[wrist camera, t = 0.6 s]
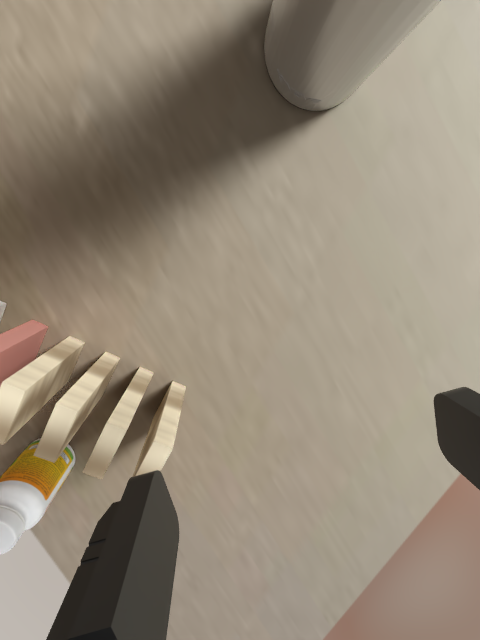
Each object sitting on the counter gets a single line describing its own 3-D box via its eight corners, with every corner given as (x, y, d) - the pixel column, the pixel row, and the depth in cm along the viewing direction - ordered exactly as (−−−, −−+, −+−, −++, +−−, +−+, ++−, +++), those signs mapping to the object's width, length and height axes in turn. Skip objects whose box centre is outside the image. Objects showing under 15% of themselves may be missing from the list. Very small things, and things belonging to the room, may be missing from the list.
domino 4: (140, 366, 32) (106, 422, 22) (153, 372, 32) (126, 430, 23) (121, 403, 33) (82, 472, 23) (135, 409, 33) (101, 479, 24)
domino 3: (105, 351, 31) (56, 402, 22) (120, 357, 32) (78, 411, 22) (88, 390, 32) (33, 455, 23) (102, 396, 33) (54, 462, 23)
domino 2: (70, 335, 30) (2, 381, 21) (85, 342, 31) (25, 390, 21) (52, 376, 32) (-19, 437, 22) (68, 382, 32) (3, 445, 22)
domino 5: (172, 380, 33) (153, 440, 23) (185, 386, 33) (173, 448, 23) (153, 416, 34) (128, 488, 24) (166, 422, 34) (146, 495, 24)
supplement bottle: (27, 432, 33) (-48, 509, 24) (77, 437, 34) (24, 515, 24) (26, 472, 34) (-44, 560, 25) (75, 476, 35) (24, 564, 26)
